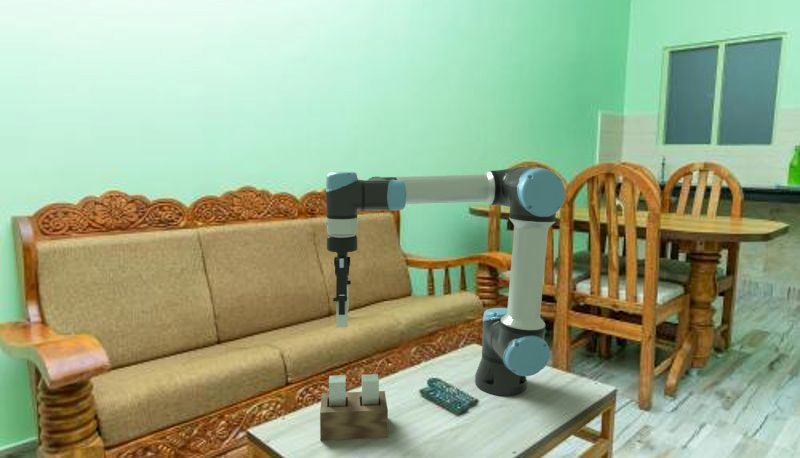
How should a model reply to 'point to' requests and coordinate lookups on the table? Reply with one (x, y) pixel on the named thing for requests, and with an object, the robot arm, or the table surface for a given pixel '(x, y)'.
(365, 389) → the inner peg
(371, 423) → the wooden peg hole block
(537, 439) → the table surface
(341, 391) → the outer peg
